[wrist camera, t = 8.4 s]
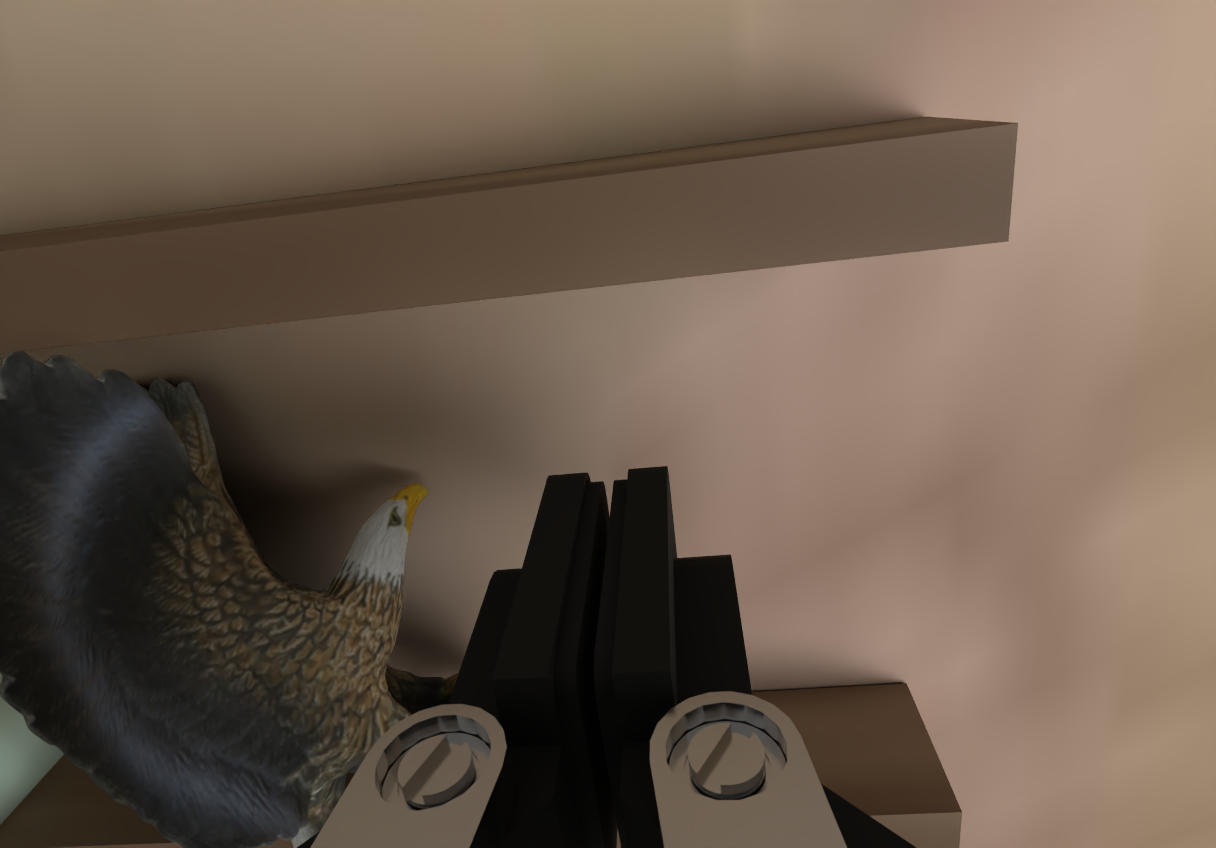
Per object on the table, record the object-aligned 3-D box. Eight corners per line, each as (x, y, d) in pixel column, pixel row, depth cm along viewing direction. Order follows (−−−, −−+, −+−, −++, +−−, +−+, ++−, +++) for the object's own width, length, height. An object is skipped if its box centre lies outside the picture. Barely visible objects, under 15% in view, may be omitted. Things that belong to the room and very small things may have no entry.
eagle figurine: (681, 535, 12) (139, 196, 9) (536, 1080, 9) (-471, 808, 5) (483, 602, 18) (108, 406, 15) (343, 944, 14) (-198, 775, 11)
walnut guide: (904, 732, 16) (980, 924, 12) (49, 774, 18) (-108, 950, 14) (927, 116, 11) (1062, 127, 7) (-236, 265, 13) (-582, 331, 9)
